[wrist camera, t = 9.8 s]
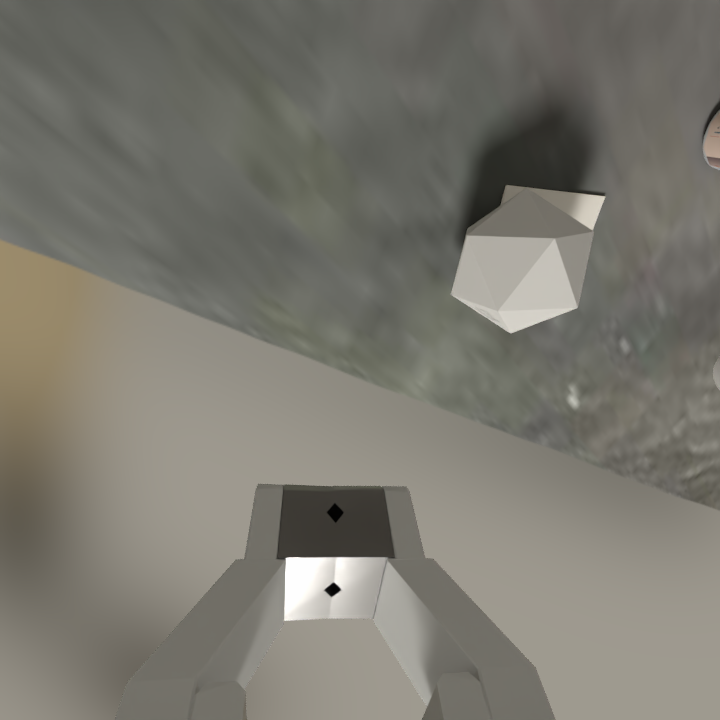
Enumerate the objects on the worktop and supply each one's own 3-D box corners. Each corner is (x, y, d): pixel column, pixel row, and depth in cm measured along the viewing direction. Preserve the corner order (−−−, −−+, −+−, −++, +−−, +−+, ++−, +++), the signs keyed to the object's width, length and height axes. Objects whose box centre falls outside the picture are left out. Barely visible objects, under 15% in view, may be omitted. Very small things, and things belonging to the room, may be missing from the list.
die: (433, 326, 27) (532, 367, 32) (546, 224, 21) (647, 292, 26) (413, 242, 32) (501, 288, 36) (501, 142, 26) (592, 211, 31)
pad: (603, 196, 31) (605, 196, 31) (564, 298, 35) (565, 299, 35) (505, 184, 30) (506, 185, 30) (477, 291, 34) (477, 292, 34)
